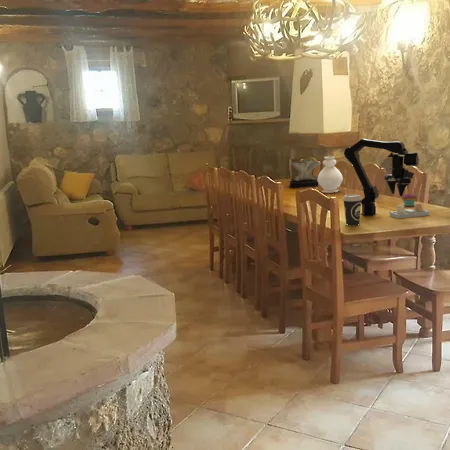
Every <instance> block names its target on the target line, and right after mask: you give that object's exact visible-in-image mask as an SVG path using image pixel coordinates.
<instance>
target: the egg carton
mask: <svg viewBox="0 0 450 450" xmlns="http://www.w3.org/2000/svg"><path fill="white" fill-rule="evenodd" d="M404 209H405V214H396V211H391V212H390V211H389V217H391V218H394V219H406V218H407V219H408V218H417V217H425V216H430V211H429V210H427V209H423V212H416V211H414V209H410V208H407V209H406V208H404Z"/></svg>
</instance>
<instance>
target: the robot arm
mask: <svg viewBox="0 0 450 450" xmlns="http://www.w3.org/2000/svg"><path fill="white" fill-rule="evenodd" d="M365 147H366V148H373V149H378V150H379V149H381V150H385V151H387V152H389V155H387V158H391V167H390V170H391V174H389V173H388V174H385V175H384V176H383V177H384V179H383V180H385V183H386V184H387V187H388V189H389V191H390V192H391V194H392V195H394V194H395V191H396V188H397V191H398V194H399V197H402V196H403V195H404V193H405V191H406V187H407V186H409V185H410V184H411V183H412V179H413V178H414V175H415V172H411V171H409V170H408V169H406V168H405V167H404V165H405V166H407V167H408V166H409V167H418V166H419V162H420V158H419V152H409V151H408V149H406V147H405V143H404V142H403V141H400V140H399V141H383V140H382V141H381V140H374V139H367V138H362V139H359V140H358V141H357V142H356V143H354V144H353V145H351V146H349V147H346V148H345V150H344V151H343V155H344V157H345V159H347V161H348V162H350V164H351V165H352V167H353V170H354V171H355V174H356V175H357V177H358V179H359V181H360V182H359V183H360V184H361V186H362V188H363V191H362V192H363V196H364V197H363V198H362V200H361V212H360V215H362V216H365V217H366V216H367V217H368V216H374V215H376V214H377V209H376V208H377V206H376V204H375V202H376V200H377V199H378V198H379V196H380V194H379V193H380V191H379V190H378V188H377V185H374V186H373V184H372V183H371V181H370V179H369V177H368V175H367V173H366V171H365V169H364V166H363V165H362V162H361V158H360V153H359V152H360V151H361V150H363V149H364V148H365Z"/></svg>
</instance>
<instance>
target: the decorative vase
mask: <svg viewBox="0 0 450 450" xmlns="http://www.w3.org/2000/svg"><path fill="white" fill-rule="evenodd" d="M323 158H324V160H323V161H322V164H323V166H324V167H322V169H321V170H320V172H319V174H318V176H317V177H318V178H317V181H318V185H319V186H320V187H321V188H322V190H321V193H324V194H325V193H327V194H333V193H334V192H335V193H339V192H340V189H338V188H339V187H340V186H341V184H342V183H343V180H344V179H343V177H344V176H343V175H342V173H341V171H340V170H339V169H338V168H337V167H336V166H335V165H337V159H335V158H336V156H334V155H333V156H332V155H327V156H324V157H323ZM338 191H339V192H338Z"/></svg>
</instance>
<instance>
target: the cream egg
mask: <svg viewBox="0 0 450 450" xmlns="http://www.w3.org/2000/svg"><path fill="white" fill-rule="evenodd" d="M405 209H406V208H405V205H403V204H398V205H397V207H396V210H395V212H396V214H405Z"/></svg>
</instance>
